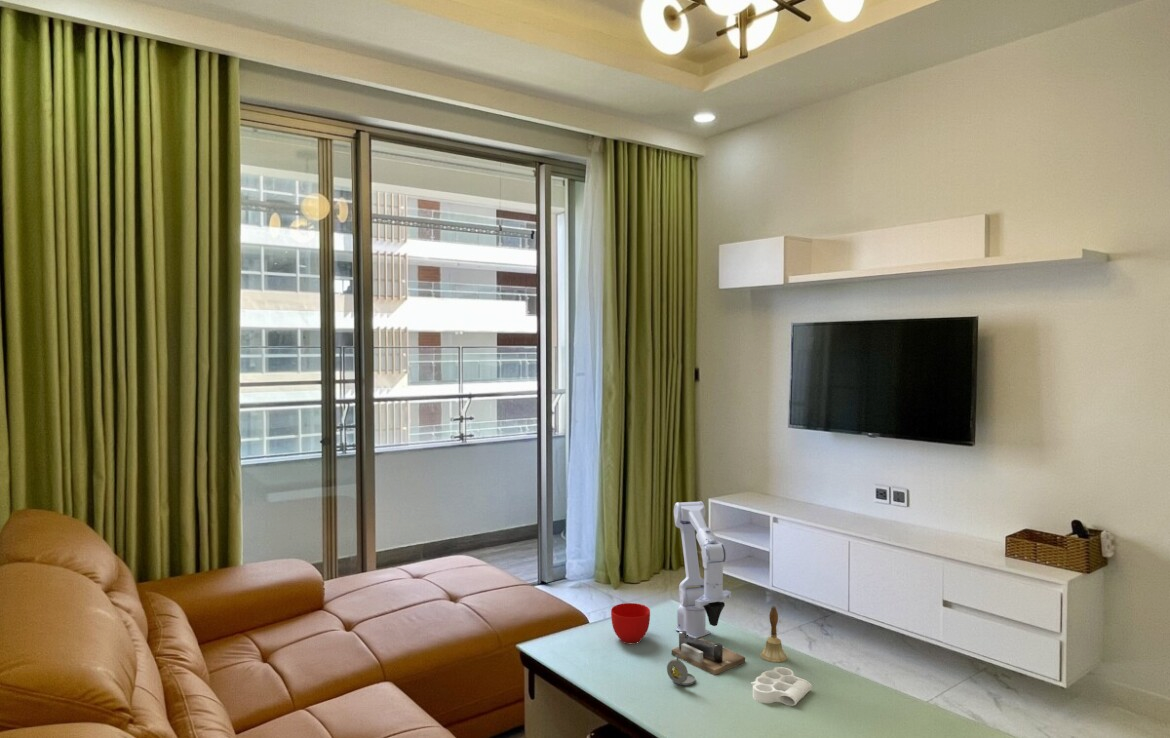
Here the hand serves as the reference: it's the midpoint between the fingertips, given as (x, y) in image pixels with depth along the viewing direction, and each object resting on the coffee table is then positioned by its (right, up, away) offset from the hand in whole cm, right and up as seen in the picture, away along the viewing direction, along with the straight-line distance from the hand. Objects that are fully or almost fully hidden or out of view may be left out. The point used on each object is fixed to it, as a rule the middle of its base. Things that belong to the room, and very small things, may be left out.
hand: (713, 624), depth 223 cm
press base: (-2, -10, -1) cm, 10 cm away
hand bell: (+19, -10, 0) cm, 21 cm away
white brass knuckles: (+14, -11, -22) cm, 29 cm away
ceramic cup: (-24, -10, +14) cm, 30 cm away
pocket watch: (-12, -11, -17) cm, 24 cm away
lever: (-5, -8, -3) cm, 10 cm away
